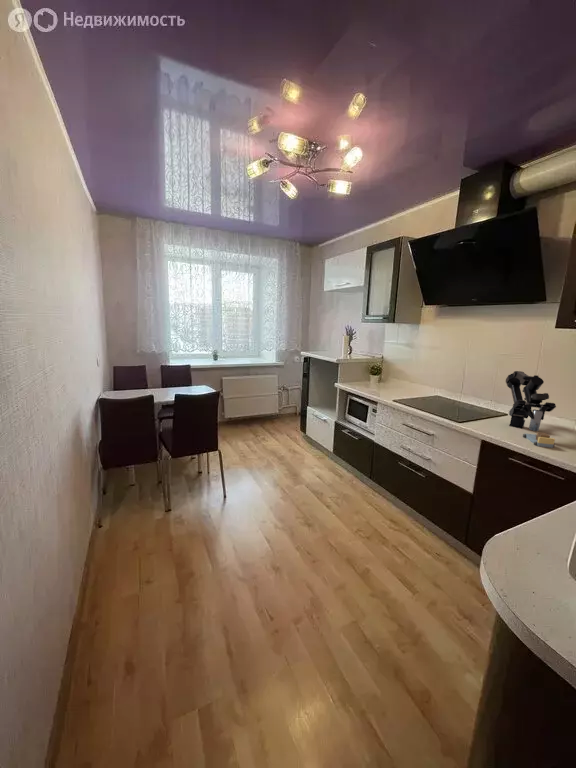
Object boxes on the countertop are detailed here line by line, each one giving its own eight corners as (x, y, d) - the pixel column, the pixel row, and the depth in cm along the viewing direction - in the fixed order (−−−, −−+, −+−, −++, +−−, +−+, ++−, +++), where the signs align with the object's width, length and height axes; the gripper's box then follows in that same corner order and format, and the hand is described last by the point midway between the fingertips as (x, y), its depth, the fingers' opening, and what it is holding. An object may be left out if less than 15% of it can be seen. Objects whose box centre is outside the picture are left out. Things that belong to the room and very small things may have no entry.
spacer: (529, 430, 174) (533, 411, 171) (527, 427, 178) (532, 409, 175) (539, 431, 172) (544, 412, 169) (537, 429, 176) (541, 410, 173)
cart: (521, 436, 178) (523, 428, 177) (539, 438, 176) (541, 429, 175) (535, 445, 164) (537, 437, 163) (554, 448, 163) (556, 439, 162)
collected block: (535, 439, 169) (537, 432, 168) (543, 440, 168) (545, 432, 168) (539, 441, 165) (541, 434, 164) (548, 442, 165) (550, 435, 164)
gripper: (519, 385, 175) (526, 410, 167) (558, 388, 172) (566, 414, 164) (510, 396, 184) (515, 419, 176) (546, 399, 181) (553, 423, 173)
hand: (537, 419), depth 172 cm, fingers closed on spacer, 4 cm apart
